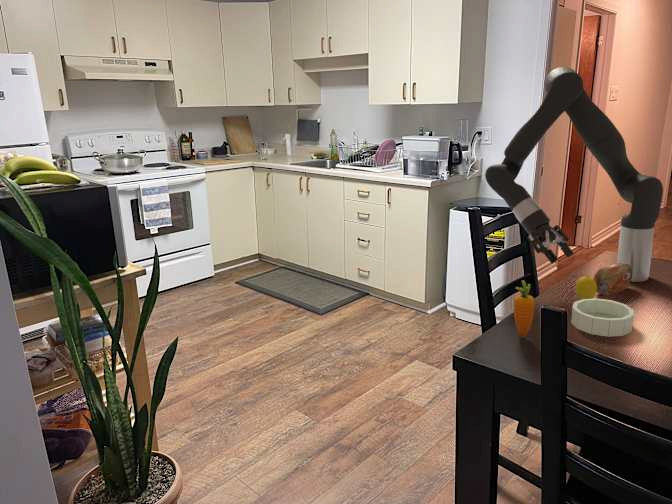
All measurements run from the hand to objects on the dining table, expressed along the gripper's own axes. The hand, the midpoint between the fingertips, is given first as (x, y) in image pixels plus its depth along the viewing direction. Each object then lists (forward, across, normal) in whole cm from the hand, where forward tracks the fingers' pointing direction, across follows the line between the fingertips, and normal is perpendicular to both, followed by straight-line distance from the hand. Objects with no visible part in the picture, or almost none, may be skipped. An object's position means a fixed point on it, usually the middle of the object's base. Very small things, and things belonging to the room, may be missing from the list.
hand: (563, 258), depth 151 cm
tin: (+15, +13, +2) cm, 20 cm away
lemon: (+14, 0, +3) cm, 14 cm away
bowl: (+21, -12, -5) cm, 25 cm away
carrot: (+15, -33, +2) cm, 36 cm away
